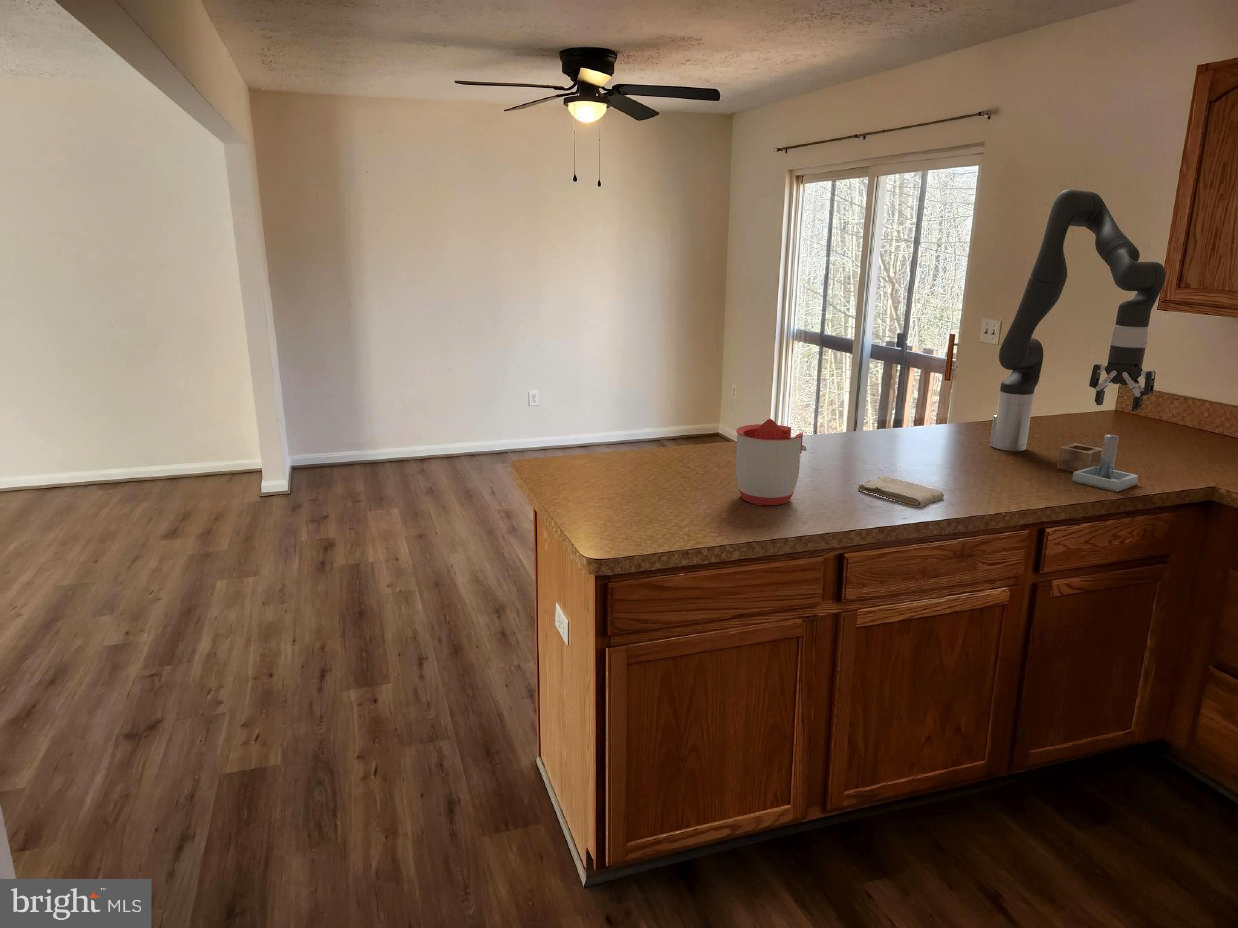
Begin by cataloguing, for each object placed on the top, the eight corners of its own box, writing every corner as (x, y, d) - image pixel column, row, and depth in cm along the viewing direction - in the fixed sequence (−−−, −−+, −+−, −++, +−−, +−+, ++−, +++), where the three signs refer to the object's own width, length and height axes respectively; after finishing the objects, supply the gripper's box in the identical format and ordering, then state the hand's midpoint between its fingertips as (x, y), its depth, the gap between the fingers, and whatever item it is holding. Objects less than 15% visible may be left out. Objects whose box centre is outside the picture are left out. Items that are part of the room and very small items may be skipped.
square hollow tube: (1056, 468, 225) (1059, 447, 223) (1071, 463, 229) (1074, 443, 228) (1086, 474, 219) (1089, 453, 217) (1100, 470, 223) (1104, 449, 221)
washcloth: (880, 484, 211) (881, 472, 210) (945, 500, 198) (947, 488, 197) (854, 492, 204) (855, 481, 203) (920, 510, 190) (921, 498, 190)
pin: (1094, 480, 212) (1102, 435, 208) (1100, 478, 213) (1108, 433, 210) (1107, 483, 209) (1115, 437, 206) (1113, 481, 211) (1121, 436, 208)
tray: (1072, 481, 213) (1073, 472, 212) (1092, 474, 219) (1094, 465, 218) (1116, 491, 204) (1118, 482, 203) (1136, 484, 210) (1138, 475, 209)
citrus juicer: (817, 505, 192) (823, 423, 187) (750, 512, 187) (754, 427, 182) (785, 486, 206) (790, 409, 201) (722, 492, 202) (726, 413, 196)
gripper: (1091, 342, 205) (1080, 404, 210) (1152, 348, 194) (1140, 414, 198) (1105, 340, 209) (1095, 401, 214) (1166, 346, 198) (1154, 411, 203)
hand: (1116, 408), depth 206 cm, fingers open, 8 cm apart
